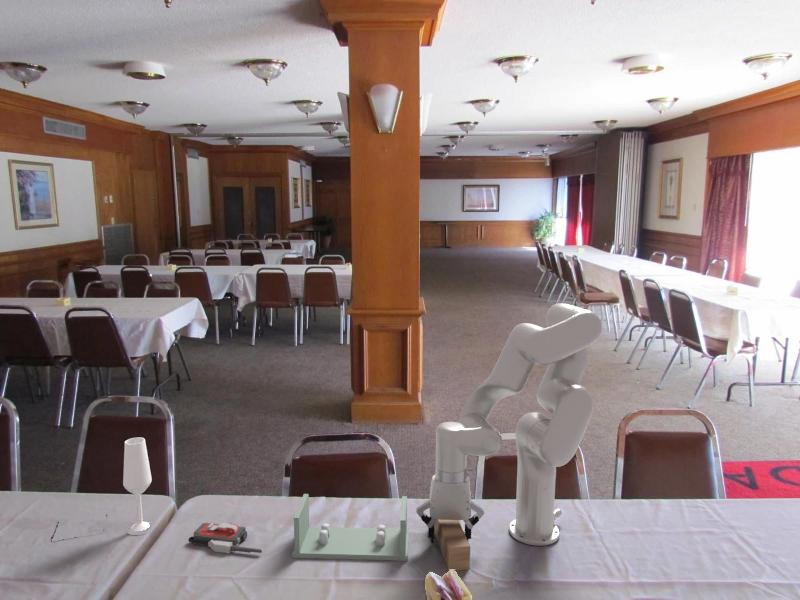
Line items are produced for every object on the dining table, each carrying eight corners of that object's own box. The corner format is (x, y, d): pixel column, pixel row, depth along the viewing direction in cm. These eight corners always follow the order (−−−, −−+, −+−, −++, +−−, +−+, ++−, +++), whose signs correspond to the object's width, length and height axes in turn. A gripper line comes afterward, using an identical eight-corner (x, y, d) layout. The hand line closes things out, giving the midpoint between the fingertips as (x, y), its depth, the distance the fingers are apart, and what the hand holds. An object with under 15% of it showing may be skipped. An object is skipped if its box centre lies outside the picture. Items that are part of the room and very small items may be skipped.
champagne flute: (120, 532, 153) (114, 443, 149) (140, 520, 159) (135, 434, 155) (140, 538, 150) (134, 447, 147) (160, 525, 156) (155, 438, 153)
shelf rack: (409, 533, 153) (409, 496, 151) (407, 560, 141) (408, 520, 140) (302, 530, 154) (301, 493, 153) (292, 557, 142) (291, 517, 141)
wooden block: (431, 526, 157) (432, 505, 156) (450, 525, 158) (450, 504, 157) (448, 571, 137) (449, 547, 136) (469, 570, 138) (470, 546, 137)
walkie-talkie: (183, 550, 146) (260, 559, 142) (182, 533, 145) (259, 542, 141) (202, 531, 154) (274, 539, 151) (201, 515, 154) (274, 523, 150)
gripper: (485, 467, 148) (483, 533, 151) (415, 466, 149) (414, 531, 151) (488, 481, 141) (486, 550, 143) (414, 479, 141) (414, 548, 144)
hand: (449, 540), depth 147 cm, fingers open, 7 cm apart
